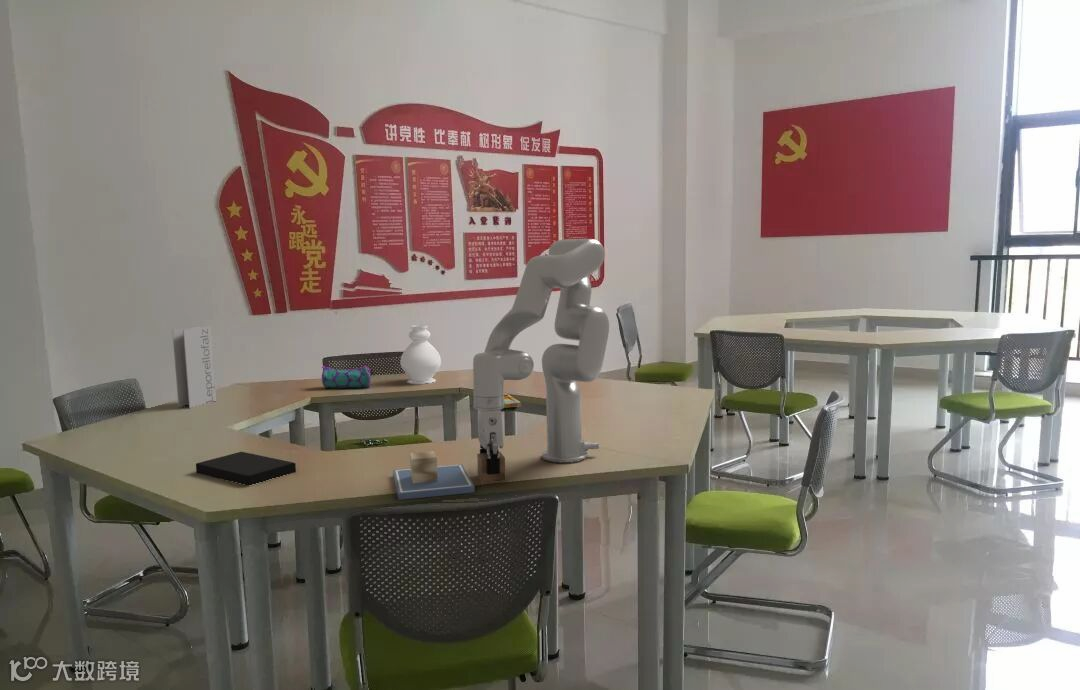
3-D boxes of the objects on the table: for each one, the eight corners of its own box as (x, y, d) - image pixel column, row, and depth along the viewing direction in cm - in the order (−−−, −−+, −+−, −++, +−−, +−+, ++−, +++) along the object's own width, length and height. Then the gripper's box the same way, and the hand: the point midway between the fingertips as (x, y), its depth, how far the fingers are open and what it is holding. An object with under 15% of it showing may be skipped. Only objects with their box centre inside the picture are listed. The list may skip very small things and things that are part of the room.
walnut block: (500, 474, 200) (500, 451, 199) (505, 481, 194) (505, 457, 193) (477, 476, 198) (477, 453, 197) (482, 483, 192) (481, 459, 192)
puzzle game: (505, 390, 293) (521, 400, 274) (505, 402, 293) (521, 413, 274) (475, 393, 289) (489, 402, 270) (475, 405, 289) (489, 416, 271)
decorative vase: (407, 378, 352) (405, 324, 349) (445, 378, 350) (443, 323, 347) (396, 385, 335) (393, 328, 332) (436, 385, 333) (434, 327, 330)
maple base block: (434, 474, 195) (433, 451, 195) (437, 481, 190) (436, 457, 189) (410, 476, 194) (409, 453, 193) (412, 483, 188) (411, 459, 187)
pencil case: (373, 385, 336) (372, 363, 335) (369, 389, 328) (368, 366, 326) (325, 386, 336) (324, 365, 335) (320, 390, 327) (319, 368, 326)
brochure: (189, 408, 294) (183, 330, 291) (178, 407, 296) (172, 330, 292) (216, 401, 308) (210, 326, 304) (205, 400, 310) (199, 326, 306)
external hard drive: (249, 487, 194) (248, 476, 194) (196, 474, 207) (195, 463, 206) (296, 473, 206) (295, 462, 205) (242, 461, 219) (242, 451, 218)
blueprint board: (462, 469, 204) (462, 463, 204) (474, 492, 185) (474, 485, 185) (393, 476, 200) (393, 470, 200) (398, 499, 181) (398, 493, 180)
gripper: (510, 407, 186) (511, 476, 188) (496, 395, 203) (497, 459, 205) (479, 409, 184) (480, 479, 186) (468, 397, 201) (469, 461, 203)
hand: (489, 468), depth 195 cm, fingers open, 9 cm apart
